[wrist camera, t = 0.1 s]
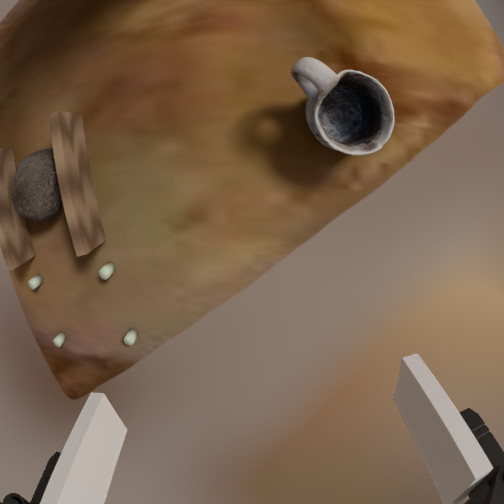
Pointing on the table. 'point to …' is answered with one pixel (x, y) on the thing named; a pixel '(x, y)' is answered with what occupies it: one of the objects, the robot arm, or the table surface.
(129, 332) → the zone posts
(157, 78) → the table surface
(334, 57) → the table surface
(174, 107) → the table surface
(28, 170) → the stone
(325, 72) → the mug
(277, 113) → the table surface
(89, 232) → the channel
